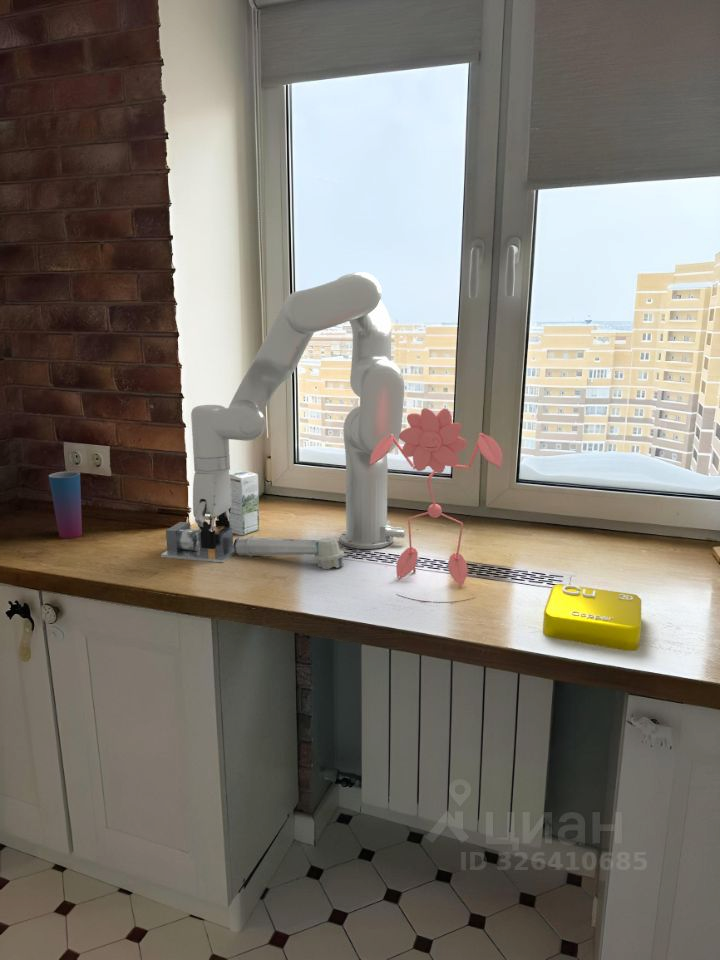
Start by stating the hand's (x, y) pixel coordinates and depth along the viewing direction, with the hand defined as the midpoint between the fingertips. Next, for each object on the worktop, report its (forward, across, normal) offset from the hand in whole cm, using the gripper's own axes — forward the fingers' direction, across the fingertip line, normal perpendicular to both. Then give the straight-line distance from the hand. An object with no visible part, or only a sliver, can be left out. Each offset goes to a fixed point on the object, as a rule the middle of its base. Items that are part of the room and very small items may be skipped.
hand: (216, 542), depth 149 cm
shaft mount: (+3, 0, -4) cm, 5 cm away
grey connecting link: (+3, 0, +17) cm, 17 cm away
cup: (+3, -4, -40) cm, 40 cm away
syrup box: (+3, -17, -1) cm, 17 cm away
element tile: (+4, +17, +78) cm, 79 cm away
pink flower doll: (+3, +7, +48) cm, 49 cm away
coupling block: (+2, 0, 0) cm, 2 cm away
